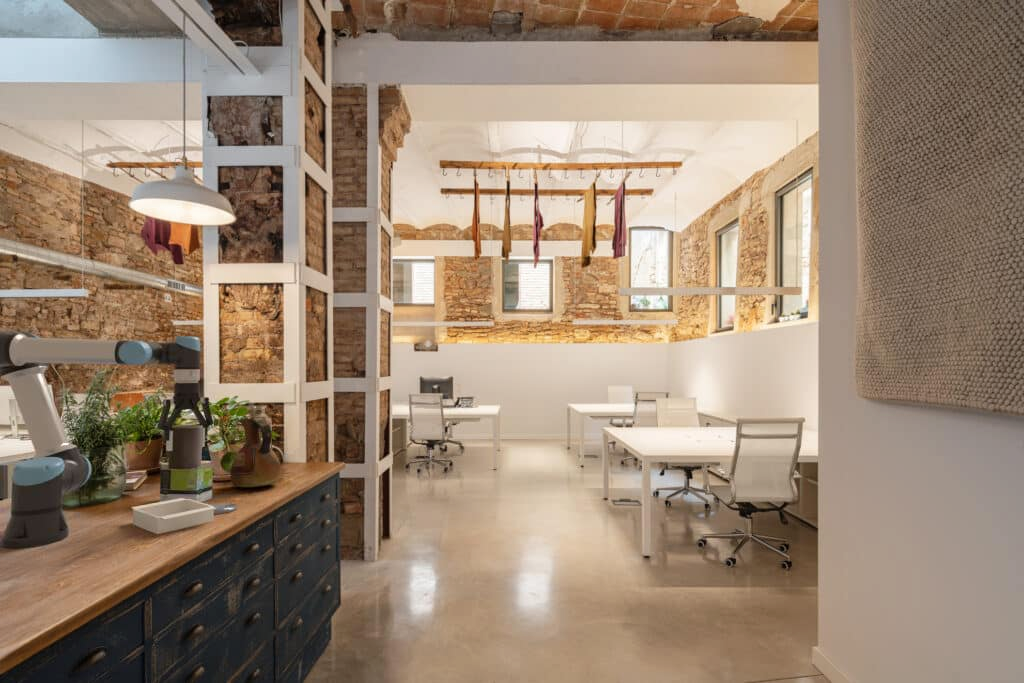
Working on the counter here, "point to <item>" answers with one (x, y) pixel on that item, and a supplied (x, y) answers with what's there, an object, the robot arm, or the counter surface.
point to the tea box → (187, 482)
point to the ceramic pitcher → (255, 457)
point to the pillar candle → (186, 447)
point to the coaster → (224, 508)
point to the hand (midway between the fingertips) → (185, 448)
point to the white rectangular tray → (172, 515)
